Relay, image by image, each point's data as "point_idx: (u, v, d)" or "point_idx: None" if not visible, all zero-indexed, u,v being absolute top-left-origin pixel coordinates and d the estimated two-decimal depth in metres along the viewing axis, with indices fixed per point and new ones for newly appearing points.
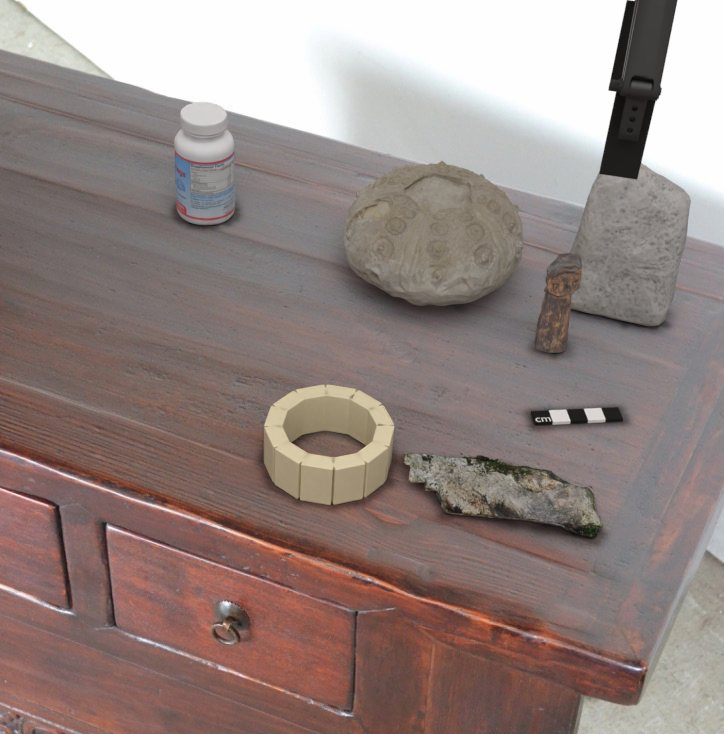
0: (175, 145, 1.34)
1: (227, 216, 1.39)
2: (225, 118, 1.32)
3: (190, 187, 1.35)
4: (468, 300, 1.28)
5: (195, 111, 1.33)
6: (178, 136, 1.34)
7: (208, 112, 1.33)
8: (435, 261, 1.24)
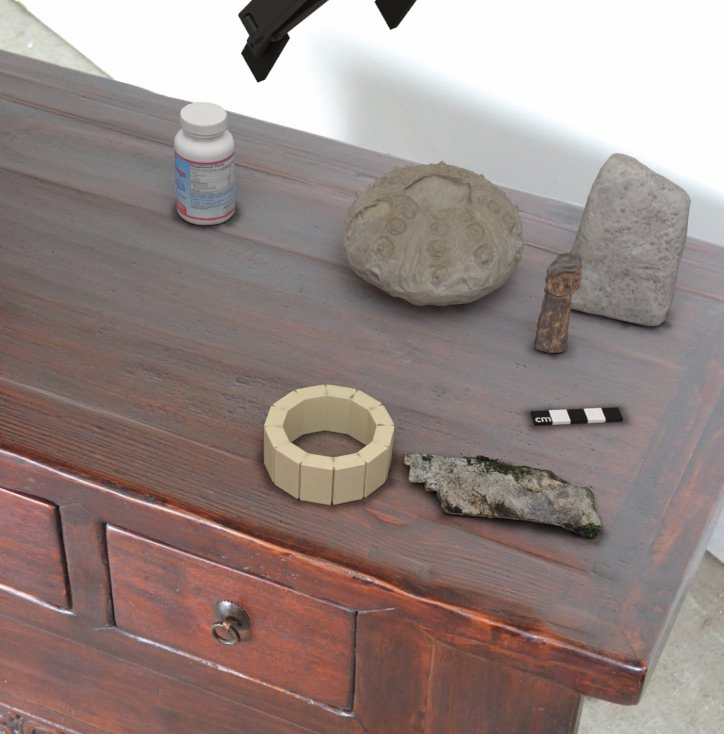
0: (175, 145, 1.34)
1: (227, 216, 1.39)
2: (225, 118, 1.32)
3: (189, 187, 1.35)
4: (468, 300, 1.28)
5: (195, 111, 1.33)
6: (178, 136, 1.34)
7: (207, 112, 1.33)
8: (436, 261, 1.24)
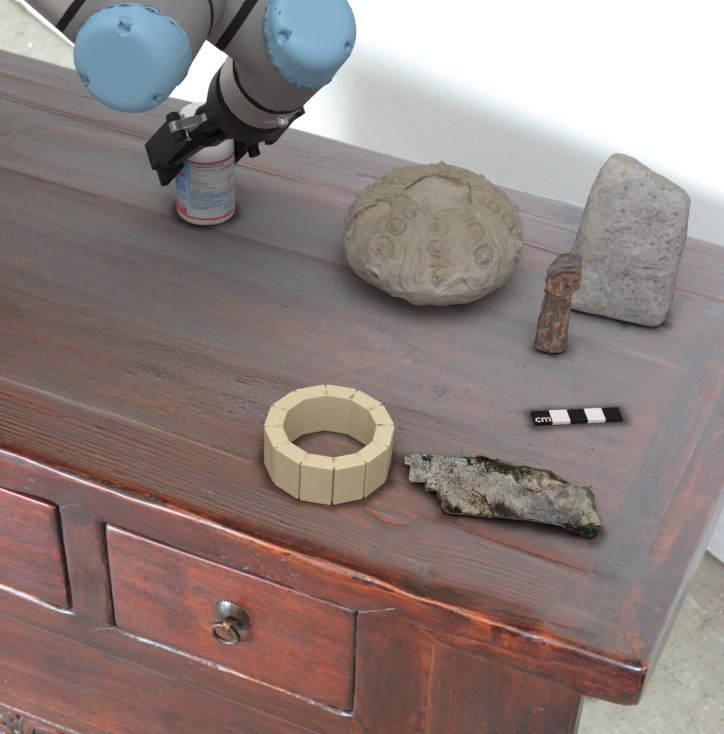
0: None
1: (227, 216, 1.39)
2: None
3: (190, 187, 1.35)
4: (468, 300, 1.28)
5: None
6: None
7: None
8: (435, 261, 1.24)
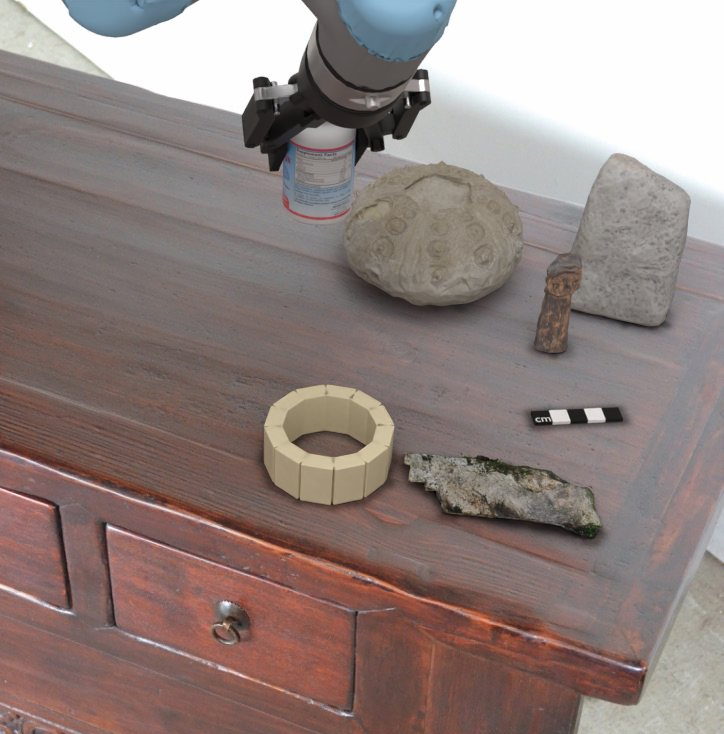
0: None
1: (337, 218, 1.15)
2: None
3: (294, 176, 1.12)
4: (468, 300, 1.28)
5: None
6: None
7: None
8: (436, 261, 1.24)
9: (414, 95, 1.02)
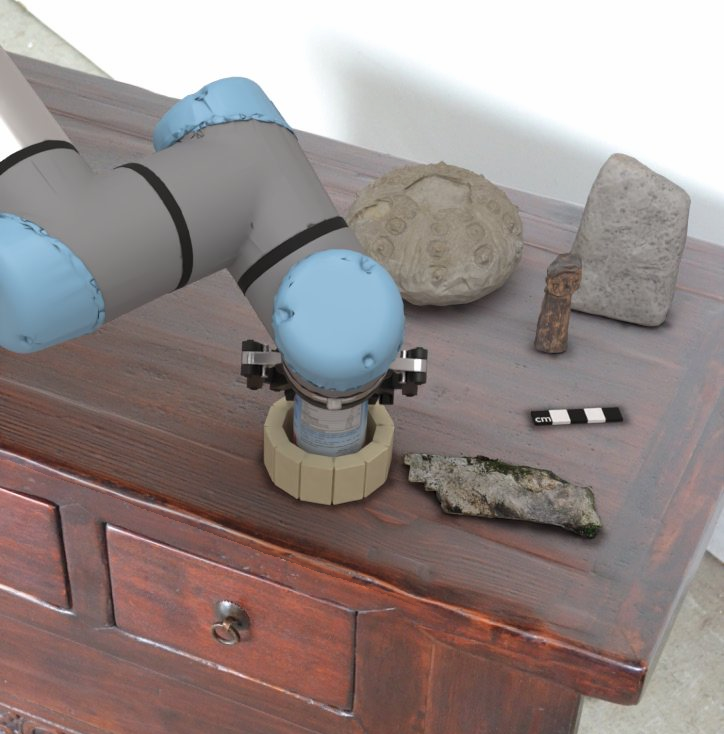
0: None
1: None
2: None
3: (300, 417, 1.09)
4: (468, 300, 1.28)
5: None
6: None
7: None
8: (436, 261, 1.24)
9: (409, 373, 0.97)
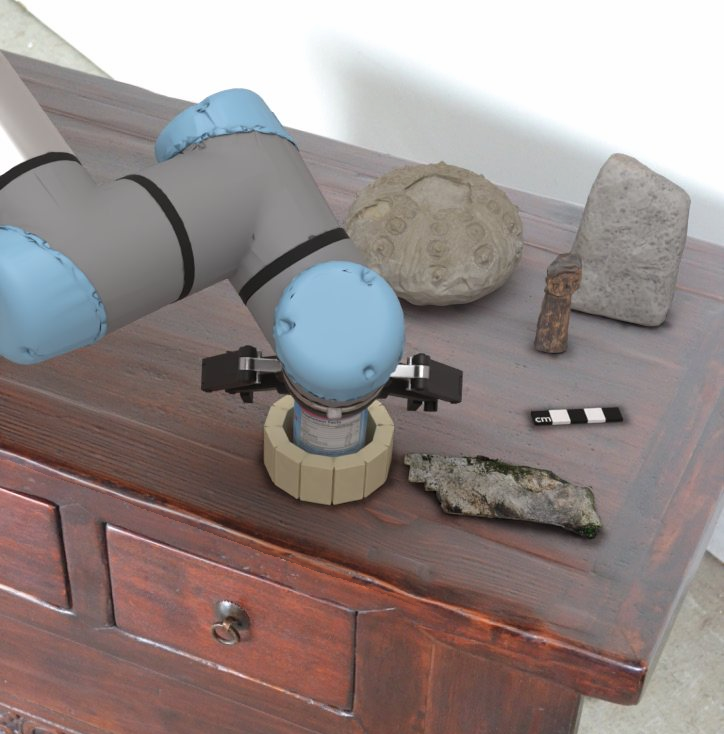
0: None
1: None
2: None
3: (299, 434, 1.10)
4: (468, 300, 1.28)
5: None
6: None
7: None
8: (436, 261, 1.24)
9: (412, 380, 0.96)
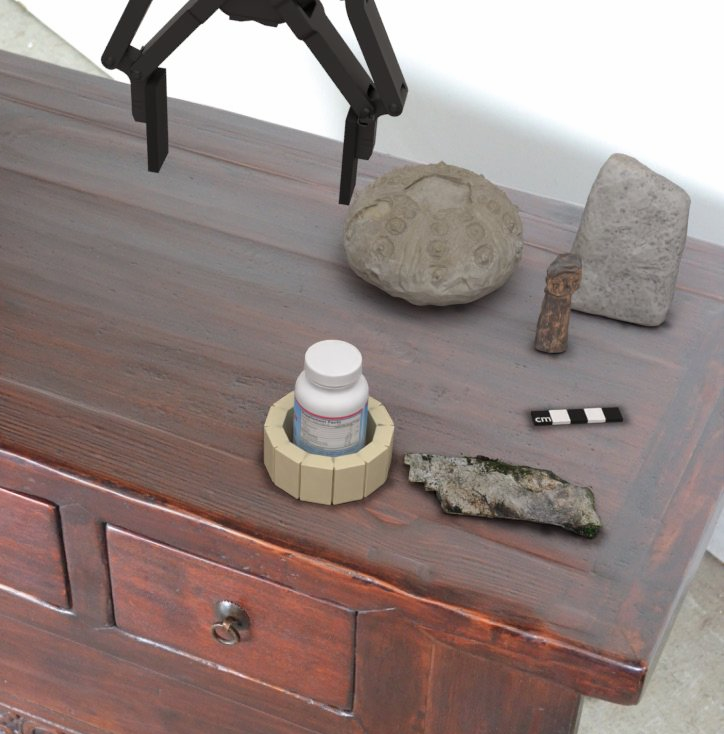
0: (296, 382, 1.09)
1: None
2: (354, 371, 1.06)
3: (299, 434, 1.10)
4: (468, 300, 1.28)
5: (326, 352, 1.07)
6: (302, 373, 1.09)
7: (339, 357, 1.07)
8: (436, 261, 1.24)
9: None
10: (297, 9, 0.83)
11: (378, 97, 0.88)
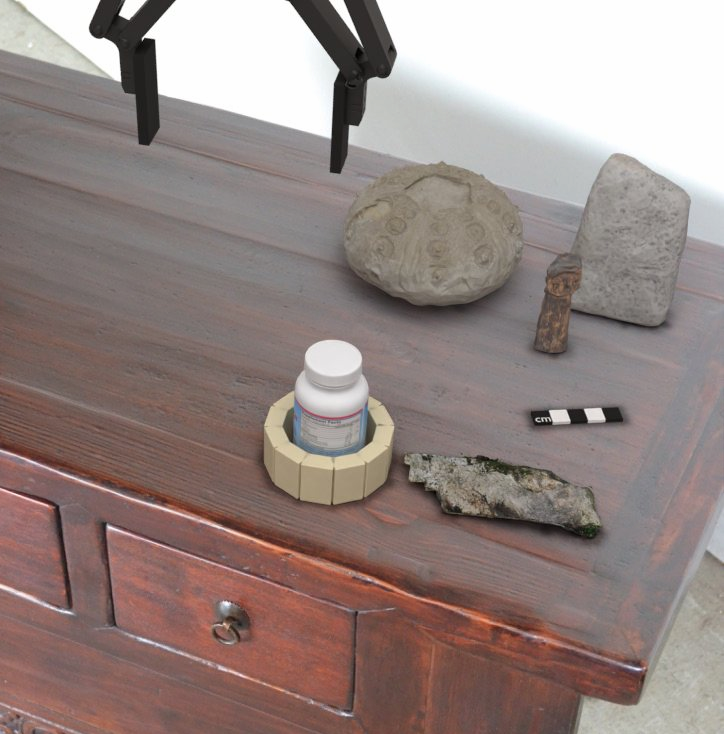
0: (296, 382, 1.09)
1: None
2: (354, 371, 1.06)
3: (299, 434, 1.10)
4: (468, 300, 1.28)
5: (326, 352, 1.07)
6: (302, 373, 1.09)
7: (339, 357, 1.07)
8: (436, 261, 1.24)
9: None
10: None
11: (366, 59, 0.87)
